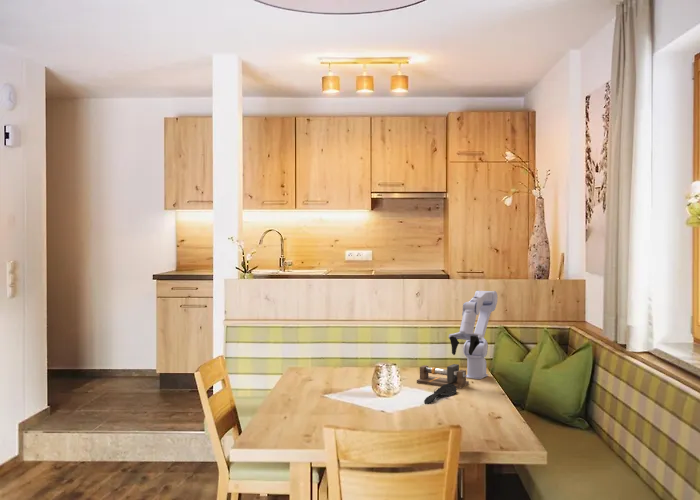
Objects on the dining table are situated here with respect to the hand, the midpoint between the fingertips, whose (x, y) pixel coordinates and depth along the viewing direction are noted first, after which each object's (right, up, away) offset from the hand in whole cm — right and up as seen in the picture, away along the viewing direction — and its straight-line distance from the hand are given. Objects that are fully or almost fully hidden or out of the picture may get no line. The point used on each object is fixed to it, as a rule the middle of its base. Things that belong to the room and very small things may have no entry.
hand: (461, 353), depth 284 cm
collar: (-3, -12, +5) cm, 14 cm away
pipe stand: (-7, -14, +7) cm, 17 cm away
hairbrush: (-12, -16, -15) cm, 24 cm away
